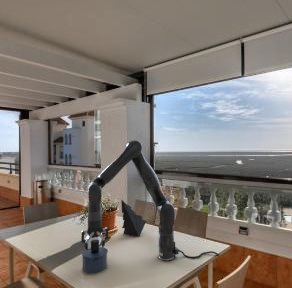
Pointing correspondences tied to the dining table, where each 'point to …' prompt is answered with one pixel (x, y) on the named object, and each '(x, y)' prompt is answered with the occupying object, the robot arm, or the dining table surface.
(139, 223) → the decorative tree
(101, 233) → the white vase
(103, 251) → the lid
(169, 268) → the dining table surface
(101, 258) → the pot
